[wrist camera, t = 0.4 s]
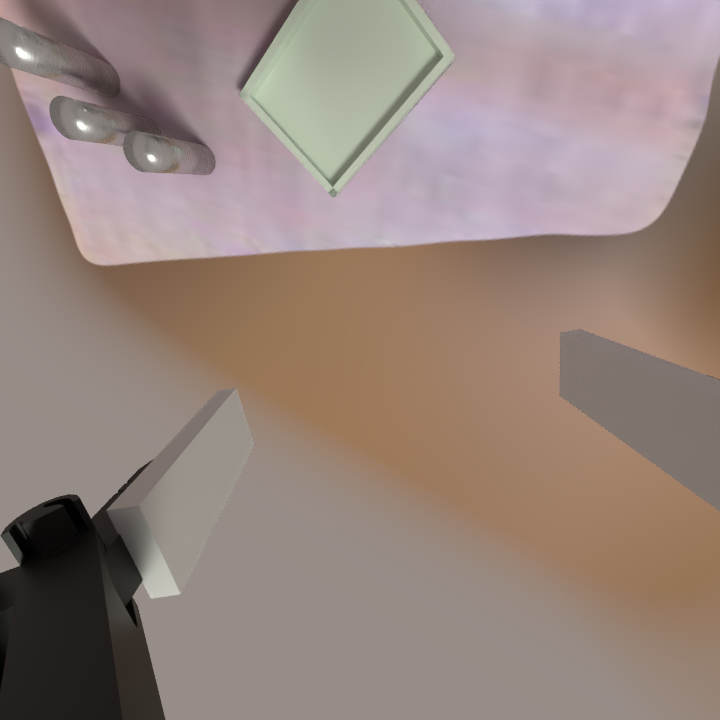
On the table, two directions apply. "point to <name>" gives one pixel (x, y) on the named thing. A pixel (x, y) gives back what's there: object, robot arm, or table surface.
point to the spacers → (93, 120)
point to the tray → (345, 80)
